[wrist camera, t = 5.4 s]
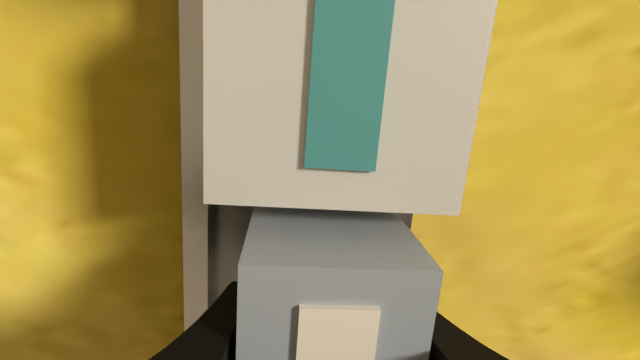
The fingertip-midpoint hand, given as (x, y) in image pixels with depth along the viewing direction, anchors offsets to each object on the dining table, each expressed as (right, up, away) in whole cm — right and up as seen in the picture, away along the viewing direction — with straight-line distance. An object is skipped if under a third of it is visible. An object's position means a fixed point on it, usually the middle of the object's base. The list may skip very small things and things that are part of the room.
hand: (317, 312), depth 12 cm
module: (0, +7, +1) cm, 7 cm away
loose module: (0, +1, +2) cm, 2 cm away
